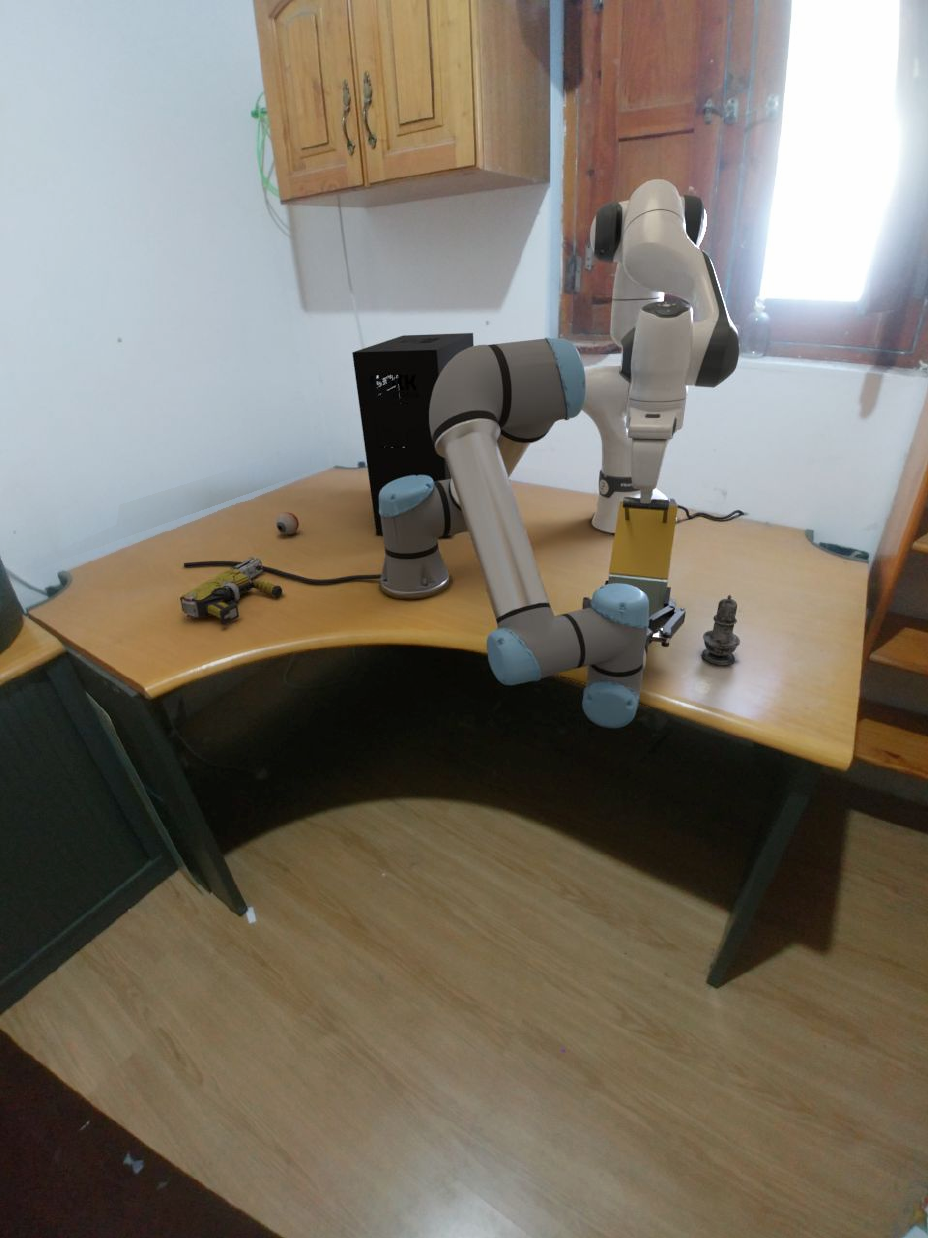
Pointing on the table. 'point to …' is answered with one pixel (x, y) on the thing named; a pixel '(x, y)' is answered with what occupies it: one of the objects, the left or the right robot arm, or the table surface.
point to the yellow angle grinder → (226, 592)
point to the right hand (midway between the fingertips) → (646, 499)
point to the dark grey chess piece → (722, 635)
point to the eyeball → (287, 523)
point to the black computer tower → (402, 407)
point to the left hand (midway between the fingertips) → (637, 590)
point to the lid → (643, 538)
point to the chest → (646, 589)
